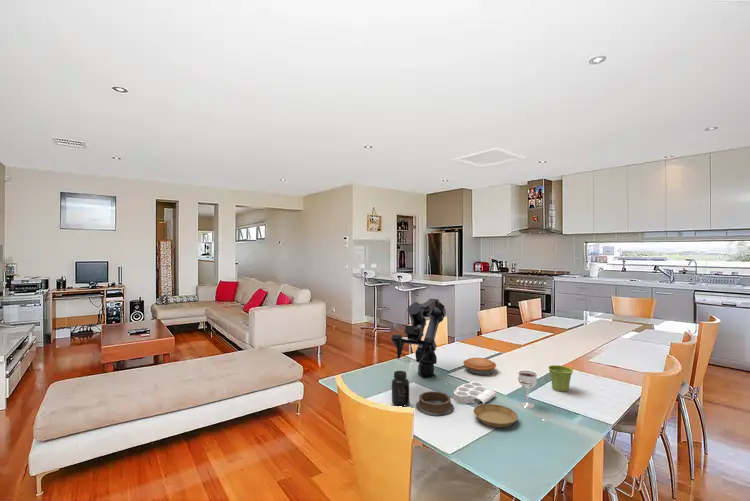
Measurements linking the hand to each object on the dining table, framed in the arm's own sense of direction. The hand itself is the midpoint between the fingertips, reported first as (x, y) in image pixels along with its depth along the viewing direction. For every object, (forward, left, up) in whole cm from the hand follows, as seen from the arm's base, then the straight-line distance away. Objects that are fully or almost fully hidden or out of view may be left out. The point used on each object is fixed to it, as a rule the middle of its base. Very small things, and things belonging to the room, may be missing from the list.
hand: (408, 360), depth 148 cm
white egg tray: (-23, +11, -15) cm, 30 cm away
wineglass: (-38, +25, -14) cm, 48 cm away
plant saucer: (-19, +30, -15) cm, 39 cm away
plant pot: (-62, +18, -14) cm, 66 cm away
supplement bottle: (+7, +6, -14) cm, 17 cm away
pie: (-44, -13, -15) cm, 48 cm away
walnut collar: (-4, +14, -14) cm, 21 cm away
